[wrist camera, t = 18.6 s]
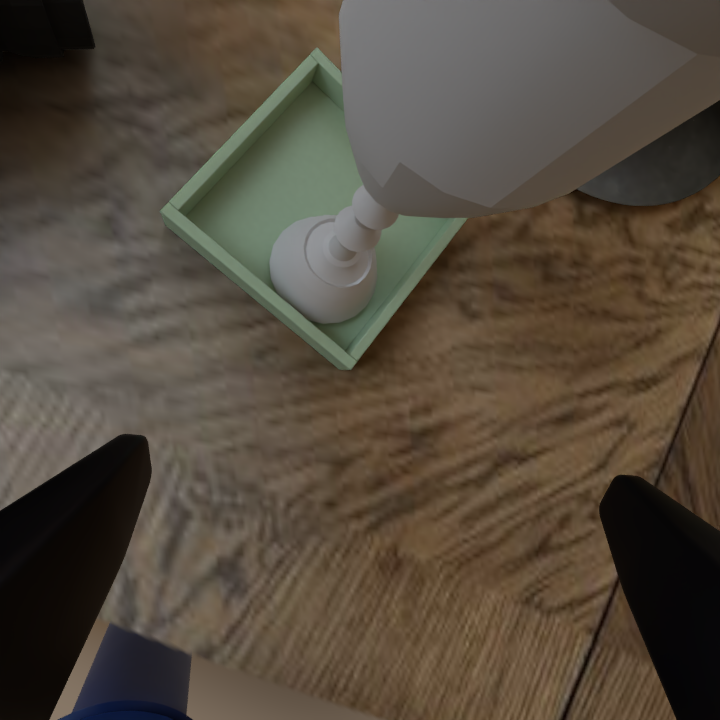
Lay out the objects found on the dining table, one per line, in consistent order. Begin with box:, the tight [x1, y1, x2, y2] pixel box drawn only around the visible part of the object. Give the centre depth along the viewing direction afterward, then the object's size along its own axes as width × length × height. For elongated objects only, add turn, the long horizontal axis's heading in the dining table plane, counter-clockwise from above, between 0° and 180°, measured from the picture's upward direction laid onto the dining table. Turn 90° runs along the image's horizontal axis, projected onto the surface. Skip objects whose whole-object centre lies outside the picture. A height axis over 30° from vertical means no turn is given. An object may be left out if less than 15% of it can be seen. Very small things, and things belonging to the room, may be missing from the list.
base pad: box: [160, 48, 468, 370], centre depth 21 cm, size 10×10×2 cm
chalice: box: [269, 0, 720, 324], centre depth 13 cm, size 7×7×18 cm
